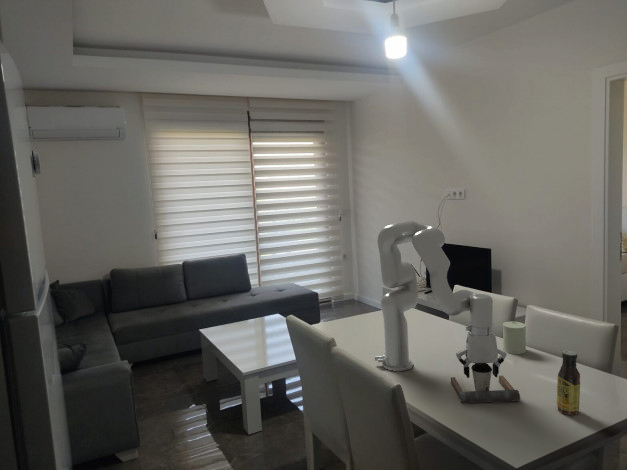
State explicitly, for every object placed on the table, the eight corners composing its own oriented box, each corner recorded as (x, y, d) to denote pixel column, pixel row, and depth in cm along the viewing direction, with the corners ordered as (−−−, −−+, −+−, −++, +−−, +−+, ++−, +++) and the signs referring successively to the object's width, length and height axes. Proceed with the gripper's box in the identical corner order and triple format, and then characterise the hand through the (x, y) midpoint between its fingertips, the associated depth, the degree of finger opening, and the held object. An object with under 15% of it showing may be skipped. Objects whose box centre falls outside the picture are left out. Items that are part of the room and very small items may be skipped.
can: (524, 347, 194) (524, 320, 193) (527, 355, 186) (527, 327, 184) (502, 345, 197) (501, 319, 196) (503, 353, 189) (503, 326, 187)
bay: (462, 404, 148) (462, 394, 148) (450, 383, 164) (450, 374, 164) (520, 403, 147) (520, 392, 147) (503, 382, 163) (502, 372, 162)
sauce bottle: (552, 407, 143) (552, 348, 141) (570, 405, 144) (570, 347, 141) (565, 418, 137) (565, 356, 134) (584, 415, 137) (585, 354, 135)
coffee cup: (494, 396, 152) (493, 369, 151) (473, 395, 154) (472, 368, 153) (490, 387, 159) (490, 360, 158) (470, 386, 161) (469, 360, 160)
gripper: (458, 334, 151) (459, 381, 153) (510, 332, 150) (510, 380, 152) (453, 326, 158) (453, 371, 160) (502, 325, 157) (502, 371, 159)
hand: (481, 375), depth 156 cm, fingers open, 9 cm apart
